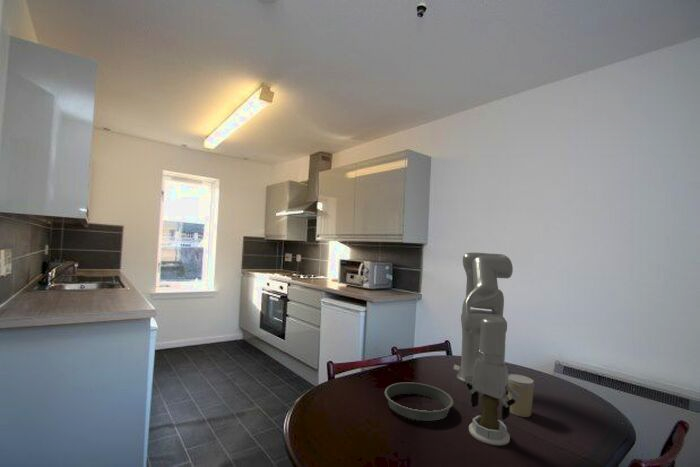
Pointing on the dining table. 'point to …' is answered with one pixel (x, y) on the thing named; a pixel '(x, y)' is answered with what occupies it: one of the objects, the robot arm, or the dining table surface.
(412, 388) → the cake pan
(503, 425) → the ring holder
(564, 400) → the dining table surface
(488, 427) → the olive tapered block
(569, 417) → the dining table surface
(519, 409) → the cream upright cylinder
